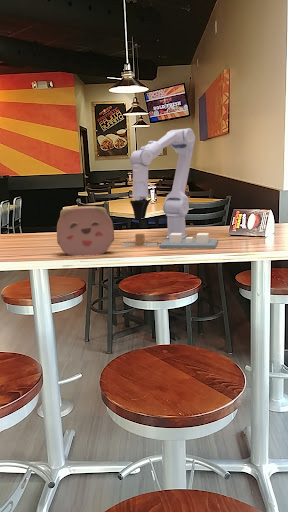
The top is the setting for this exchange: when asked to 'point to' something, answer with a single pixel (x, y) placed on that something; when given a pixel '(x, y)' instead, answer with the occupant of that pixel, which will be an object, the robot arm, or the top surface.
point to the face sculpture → (84, 230)
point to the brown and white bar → (140, 241)
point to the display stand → (189, 241)
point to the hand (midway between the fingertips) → (140, 219)
